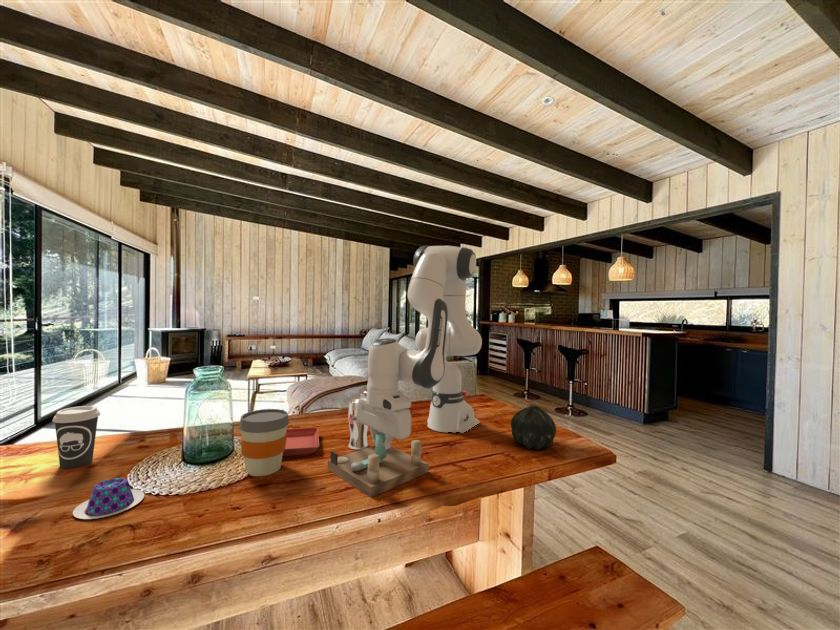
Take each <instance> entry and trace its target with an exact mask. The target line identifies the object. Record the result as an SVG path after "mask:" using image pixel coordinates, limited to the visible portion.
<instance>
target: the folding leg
mask: <svg viewBox="0 0 840 630" xmlns="http://www.w3.org/2000/svg"><path fill="white" fill-rule="evenodd" d="M385 439H386V437H385V433H383V432H377V433H376V441H375V444H374V446H375V454H377V455H379V463H380V462H383V459H384V458H386V456H387V449H385V448H383V447H382V446H383V444H382V442H383V441H385ZM367 467H368V459H366V460H364V461H361V462H353V463H352V464H351V470H352V471H361V470H362V469H364V468H367Z"/></svg>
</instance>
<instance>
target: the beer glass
mask: <svg viewBox="0 0 840 630" xmlns="http://www.w3.org/2000/svg"><path fill="white" fill-rule="evenodd" d="M359 399H360V397H359V398H353V399H350V400H349V403H348V412H347V413H348V415H347V416H348V424H349V425H348V426H349V432H350V438H349V443H348V448H349V449H351V450H356V451H359V450H362V449H365V448H368V445H369V444H368V437H367V434H368V429H369V426H366V425H364V424H362V423H359V422H358V421H357V417H356V416H357V406H358V401H359Z"/></svg>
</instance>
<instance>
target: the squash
mask: <svg viewBox="0 0 840 630" xmlns="http://www.w3.org/2000/svg"><path fill="white" fill-rule="evenodd" d="M510 428H511V436H512V437H513V439H514V440H515V441H516V442H517V443H519V444H521V445H523V446H524V447H525V448H527V449H529V450H531V449H532V448H533V449H535V450H537V451H539V450H541V449H548V448H550V446H551V445H552V444H553V442H554V440H555V437H556V434H557V426H556V422H555V421H554V419H553V418H552V417H551V415H550V414H549V413H547V412H546V411H545V410H543V409H541V408H540V407H539V406H537V405H530V406H527V407H524V408H522V409H521V410H518V411H517V412H515V413H514V414H513V417H512V418H511V420H510Z"/></svg>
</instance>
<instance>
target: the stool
mask: <svg viewBox="0 0 840 630" xmlns="http://www.w3.org/2000/svg"><path fill="white" fill-rule="evenodd" d="M377 431H378V430H377ZM378 432H380V431H378ZM410 445H411V446H410V447H411V449H410V454H409V453H407V452H404V451H402V450H400V449H397V448H396V447H393V446H391V447H390V448H389V449H387V456H386V458H384V459H383V462H380V463H379V455H377V454H375V445H372V446H369V447H368V446H367V447H366V448H365V449H361V450H356V451H353V452H349V453H346V454H343V455H341V456H339V455H338V454H339V453H337V452H335V451H333V450H330V459H328V460H327V470H328V471H330V472H332V473H333V474H334V475H336V476H338V477H339V478H340V479H342V480H344V481H345V482H346V483H348V484H349V485H351V486H352V487H354V488H355V489H357V490H359V491H360V492H362V493H363V494H364V495H366V496H368V497H369V498H374V497H375V496H376V497H377V496H378V495H380V494H383V493H384V492H387V491H389V490H391V489H393V488H396V487H397V486H400V485H402V484H405V483H407V482H409V481H412V480H414V479H416V478H418V477H421V476H423V475H425V474H427V473H429V462H426V461H424V460H422V440H419V439H413V440H411V444H410ZM366 459H368V467H367V468H364V469H362V470H361V471H352V470H351V464H352V463H353V462H361V461H364V460H366Z"/></svg>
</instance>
